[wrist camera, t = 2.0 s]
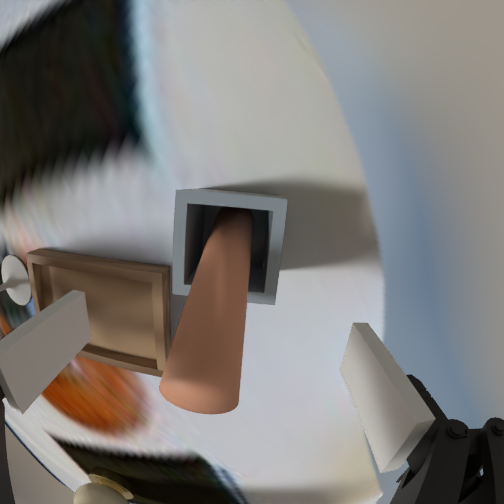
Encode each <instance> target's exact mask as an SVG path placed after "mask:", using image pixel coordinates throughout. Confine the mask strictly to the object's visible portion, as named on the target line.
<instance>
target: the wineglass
mask: <svg viewBox="0 0 504 504" xmlns="http://www.w3.org/2000/svg"><path fill="white" fill-rule="evenodd" d="M2 279H3V283H4V284H2V285H0V292H1V291H2V290H4V289H6V290H7V292H8V294H9V296H10V297H11V298H12V299H13V300H14V301H15V302H16V303H17V304H19V305H26V304H27V303H29V301H30V299H31V295H32V292H31V286H30V280H29V274H28V272H27V270H26V268H25V266H24V264H23V263H22V261H21V260H20V259H19V258H18V257H16V256H14V255H9V256H6V257H5V258H4V260H3V263H2Z"/></svg>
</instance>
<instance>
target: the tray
mask: <svg viewBox="0 0 504 504" xmlns="http://www.w3.org/2000/svg"><path fill="white" fill-rule="evenodd" d="M26 256H27V265H28V273H29V280H30V286H31V292H32V298H33V303H34V308H35V312H36V314H38V313H39V312H41V311H42V310H43V309H45V308H46V307H48V306H49V305H51V304H52V303H54V302H55V301H57V300H58V299H60V298H62V297H63V296H65V295H66V294H68V293H69V292H71V291H72V290H77V291H82V292H85V299H86V306H87V313H88V320H89V326H90V332H91V337H92V339H91V340H90V341H89V342H88V343H87V344H86V345H85V346H84V347H83V348H82V349H81V350H80V351H79V353H78V354H77V355H78V356H81V357H84V358H87V359H91V360H94V361H97V362H101V363H104V364H108V365H112V366H115V367H119V368H123V369H127V370H131V371H135V372H140V373H144V374H149V375H153V376H158V377H162V375H163V372H164V368H165V365H166V362H167V359H168V355H169V352H170V349H171V330H170V266H164V265H155V264H147V263H139V262H131V261H123V260H115V259H107V258H99V257H92V256H85V255H77V254H70V253H63V252H56V251H49V250H43V249H36V250H34V251H31V252H28V253H26Z"/></svg>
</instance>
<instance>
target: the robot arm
mask: <svg viewBox="0 0 504 504" xmlns="http://www.w3.org/2000/svg"><path fill="white" fill-rule="evenodd" d="M91 339H92V337H91V332H90V326H89V320H88V313H87V306H86V299H85V292H82V291H77V290H72V291H71V292H69V293H68V294H66V295H65V296H63V297H62V298H60V299H58V300H57V301H55V302H54V303H52V304H51V305H49V306H48V307H46V308H45V309H43V310H42V311H41V312H39V313H38V314H36V315H35V316H33V317H32V318H30V319H29V320H28V321H26V322H25V323H23V324H22V325H20V326H19V327H18V328H15V329H13V330H12V331H11V332H9V333H8V334H7V336H6V335H5V336H4V337H2V338H1V340H0V504H15V500H14V496H13V492H12V486H11V481H10V475H9V469H8V462H7V452H6V439H5V407H4V403H3V401H2V399H3V398H4V397H6V399H7V401H8V402H9V404H10V406H11V407H12V408H13V409H15V410H16V411H18V412H19V413H21V414H22V415H23V413H24V412H25V411H26V410H27V409H28V408H29V406H30V405H31V404H32V403H33V402H34V401H35V399H36V398H37V397H38V396H39V395H40V394H41V393H42V392H43V390H44V389H45V388H46V387H47V386H48V385H49V384H50V383H51V382H52V380H53V379H54V378H55V377H56V376H57V375H58V374H59V373H60V372H61V371H62V370H63V368H64V367H65V366H66V365H67V364H68V363H69V362H70V361H71V360H72V359H73V358H74V357H75V356H76V355H77V354H78V353H79V351H80V350H81V349H82V348H83V347H84V346H85V345H86V344H87V343H88V342H89V341H90V340H91ZM340 372H341V374H342V377H343V379H344V381H345V384H346V386H347V389H348V391H349V394H350V396H351V398H352V401H353V403H354V406H355V408H356V411H357V413H358V416H359V418H360V421H361V423H362V426H363V428H364V431H365V434H366V436H367V439H368V441H369V444H370V447H371V449H372V452H373V454H374V457H375V459H376V462H377V465H378V468H379V471H380V473H384V472H388V471H392V470H396V469H399V468H400V467H401V465H402V464H403V463H404V462H405V461H406V460H407V462H408V464H409V467H408V468H407V470H406V471H405V472H404V473H403V474H402V475H401V476H400V477H399V479H398V480H397V481H396V482H399V481H400V480H401V479H402V480H401V482H400V484H399V486H398V489H397V491H396V493H395V495H394V497H393V499H392V501H391V502H390V504H504V420H502V419H500V418H496V417H495V418H490V419H489V420H488V421H487V422H486V423H485V425H484V426H483V428H481V429H469V428H468V427H467V425H465V424H464V423H463V422H461V421H459V420H455V419H450V420H448V419H447V417H446V416H445V414H444V413H443V412H442V410H441V409H440V407H439V406H438V405H437V403H436V402H435V400H434V399H433V398H432V397H431V395H430V393H429V392H428V391H426V388H425V387H424V385H423V384H422V382H421V381H419V380H418V379H417V378H415V377H414V376H413V375H405V373H404V372H403V370H402V369H401V368H400V366H399V365H398V363H397V362H396V361H395V359H394V358H393V356H392V355H391V354H390V352H389V351H388V350H387V348H386V347H385V346H384V344H383V343H382V342H381V340H380V339H379V337H378V336H377V335H376V333H375V332H374V331H373V330H372V328H371V327H370V326H369V324H368V323H353V325H352V329H351V333H350V336H349V340H348V343H347V347H346V350H345V354H344V357H343V360H342V363H341V366H340ZM482 468H483V475H482V476H481V475H480V470H481V469H482Z"/></svg>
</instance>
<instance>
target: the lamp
mask: <svg viewBox="0 0 504 504" xmlns="http://www.w3.org/2000/svg"><path fill="white" fill-rule="evenodd" d="M89 479H90V480H91V482H93V483H87V484H84V485H82V486H80V487H79V488H78V489H77V490H76V492H75V494H74V504H129V502H128V501H127V499H132V498H133V497H134V494H135V491H136V488H135V486H134V485H133V484H132V483H131V482H130V481H128V480H127V479H125V478H124V477H122V476H120V475H118V474H116V473H114V472H112V471H109V470H107V469H104V468H100V467H93V468H92V470H91V472H90V474H89Z"/></svg>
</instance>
